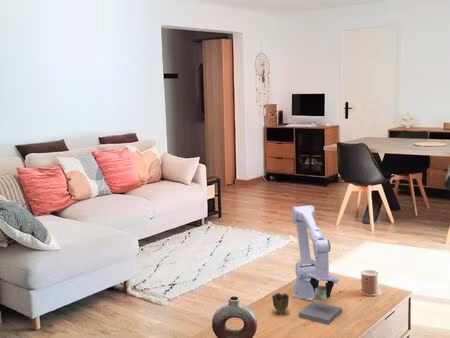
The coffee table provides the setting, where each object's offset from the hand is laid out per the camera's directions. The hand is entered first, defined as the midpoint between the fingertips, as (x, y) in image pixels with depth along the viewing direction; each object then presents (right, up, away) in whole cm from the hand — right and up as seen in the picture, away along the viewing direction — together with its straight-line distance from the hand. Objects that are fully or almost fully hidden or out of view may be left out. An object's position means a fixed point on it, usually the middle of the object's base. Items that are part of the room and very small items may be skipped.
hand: (322, 295), depth 229 cm
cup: (-18, -9, +5) cm, 20 cm away
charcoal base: (-1, -8, +1) cm, 9 cm away
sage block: (0, -1, 0) cm, 2 cm away
